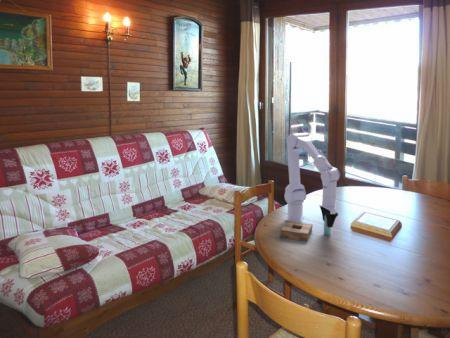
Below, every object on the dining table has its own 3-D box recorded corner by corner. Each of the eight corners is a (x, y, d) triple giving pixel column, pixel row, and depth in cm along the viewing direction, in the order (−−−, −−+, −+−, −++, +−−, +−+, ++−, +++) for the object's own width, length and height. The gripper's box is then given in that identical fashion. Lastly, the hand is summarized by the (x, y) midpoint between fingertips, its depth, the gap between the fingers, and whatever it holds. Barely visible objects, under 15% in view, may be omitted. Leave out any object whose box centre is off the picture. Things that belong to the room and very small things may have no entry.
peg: (324, 232, 181) (325, 214, 179) (330, 233, 180) (331, 215, 177) (323, 235, 178) (324, 216, 176) (330, 235, 177) (331, 217, 175)
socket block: (286, 227, 187) (286, 220, 186) (312, 231, 182) (312, 224, 181) (280, 237, 176) (280, 230, 175) (307, 241, 171) (307, 233, 171)
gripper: (316, 190, 181) (315, 218, 185) (324, 200, 167) (322, 230, 170) (331, 190, 181) (330, 218, 185) (340, 200, 167) (339, 229, 170)
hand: (327, 223), depth 178 cm, fingers open, 7 cm apart
